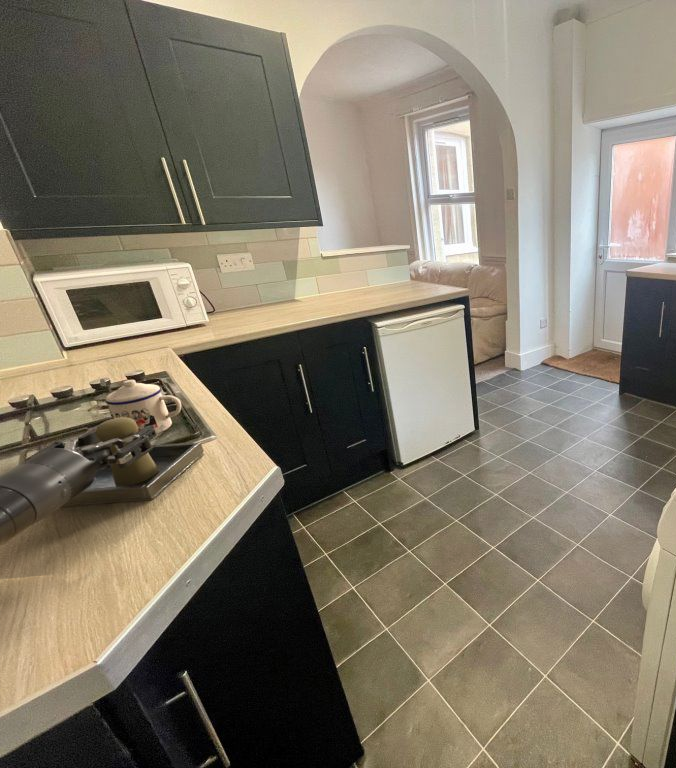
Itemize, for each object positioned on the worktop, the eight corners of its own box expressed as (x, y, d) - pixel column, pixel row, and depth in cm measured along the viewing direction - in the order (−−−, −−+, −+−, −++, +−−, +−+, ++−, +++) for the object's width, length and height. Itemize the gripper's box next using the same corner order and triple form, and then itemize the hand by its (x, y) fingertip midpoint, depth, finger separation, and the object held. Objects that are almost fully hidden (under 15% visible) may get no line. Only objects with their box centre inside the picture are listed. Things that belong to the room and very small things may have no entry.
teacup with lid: (112, 443, 87) (89, 392, 82) (132, 425, 94) (112, 376, 90) (180, 433, 90) (162, 383, 86) (194, 415, 98) (178, 369, 94)
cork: (128, 488, 71) (102, 431, 67) (106, 482, 73) (80, 426, 69) (166, 469, 76) (144, 415, 72) (144, 464, 78) (122, 411, 74)
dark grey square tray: (56, 507, 67) (49, 494, 66) (125, 458, 81) (120, 447, 80) (152, 500, 68) (147, 486, 67) (204, 453, 82) (200, 441, 81)
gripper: (81, 460, 57) (162, 409, 72) (-33, 468, 56) (73, 415, 71) (103, 505, 60) (176, 447, 75) (-5, 513, 59) (91, 453, 74)
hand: (126, 431), depth 73 cm, fingers open, 8 cm apart
